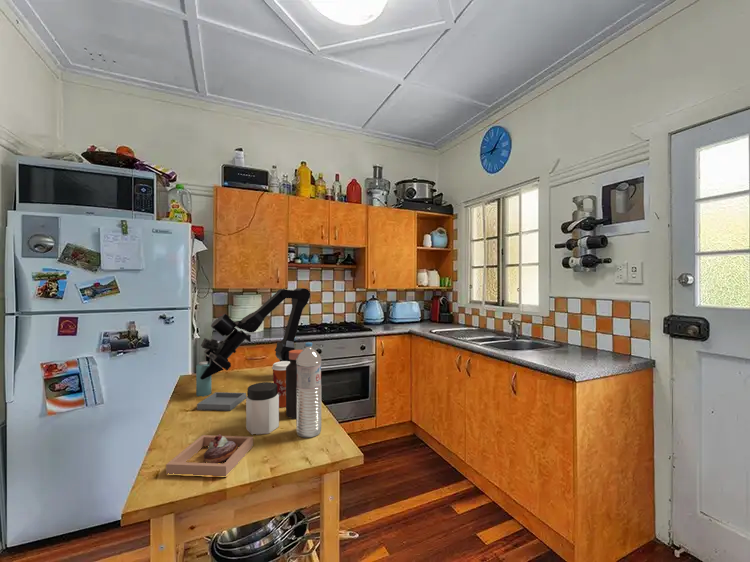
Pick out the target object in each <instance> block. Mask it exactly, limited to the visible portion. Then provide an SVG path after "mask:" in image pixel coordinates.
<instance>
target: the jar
mask: <svg viewBox="0 0 750 562" xmlns="http://www.w3.org/2000/svg"><path fill="white" fill-rule="evenodd" d="M245 400H246V401H245V418H246V419H245V428H246V430H247V432H249V434H250V435H252V436H254V435H253V434H256V435H268V434H271V433H272V432H273V431H275V430H276V429H277V428H279V427H280V407H279V395H278V394H277V384H275V383H274V382H271V381H270V382H269V381H267V382H266V381H265V382H264V381H263V382H258V383H257V382H256V383H254V384H250V385H249V386H248V387H247V391H246V399H245Z"/></svg>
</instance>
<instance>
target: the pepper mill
mask: <svg viewBox="0 0 750 562" xmlns="http://www.w3.org/2000/svg"><path fill="white" fill-rule="evenodd" d="M208 366H209V363H208V361H205V360H202V361H199V363H198V364H196V365H195V368H196V369H195V370H196V372H195V377H196V378H195V380H196V381H195V383H196V384H195V385H196V386H195V387H196V388H195V390H196V392H195V393H196V395H195V396H196V397H199V396H202V397H208V396H211V395H212V375H211V376H209V377H207V378H205V379H203V380H202V379H201V378H200V377H201V376H202V374H203V373H204V371H205V370H206V369H207V367H208ZM207 395H208V396H207Z"/></svg>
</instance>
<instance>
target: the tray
mask: <svg viewBox="0 0 750 562" xmlns="http://www.w3.org/2000/svg"><path fill="white" fill-rule="evenodd" d="M246 397H247V392H228V391H227V392H226V391H225V392H224V391H223V392H222V391H221V392H220V391H216V392H214V393H211V394H210V395H208V396H206V398H204V399H202V400H201V401H199V402H198V403H196V411H212V410H216V412H221V411H222V412H231V411H232V410H234V409H235V408H236V407H237V406H238V405H240V404H241V403H242V402H244V401H245V400H246Z"/></svg>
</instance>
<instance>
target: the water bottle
mask: <svg viewBox="0 0 750 562" xmlns="http://www.w3.org/2000/svg"><path fill="white" fill-rule="evenodd" d="M302 350H303V351H302V352H301V353H300V354H299V355H298V357H297V359H296V364H297V387H296V393H297V394H296V403H297V404H296V406H297V407H296V416H297V417H296V427H295V428H296V429H295V430H296V434H297V436H299V437H301V438H305V439H309V438H314V437H317V436H318V435H320V434H321V432H322V357H321V354H320V353H319V352H318V351H317V350H316V349H314V348H313V342H310V341H307V342H305V348H304V349H302Z"/></svg>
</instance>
